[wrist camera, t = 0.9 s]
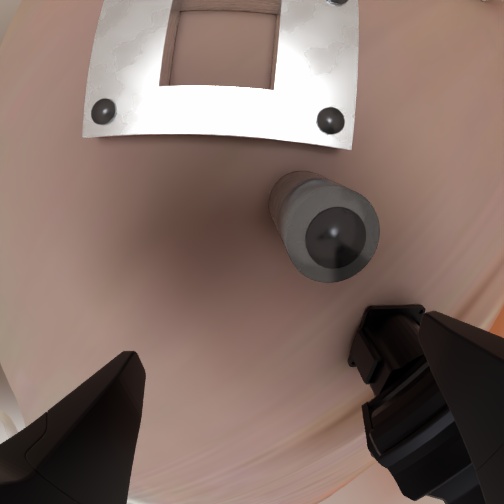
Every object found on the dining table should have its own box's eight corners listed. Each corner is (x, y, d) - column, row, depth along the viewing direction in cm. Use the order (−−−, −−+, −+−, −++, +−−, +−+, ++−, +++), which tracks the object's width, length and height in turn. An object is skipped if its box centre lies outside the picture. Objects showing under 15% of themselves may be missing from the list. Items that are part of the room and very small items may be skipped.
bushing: (337, 175, 18) (389, 195, 11) (327, 237, 20) (369, 285, 13) (272, 167, 18) (294, 182, 11) (265, 232, 19) (281, 283, 13)
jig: (345, -1, 13) (359, -16, 10) (337, 148, 17) (353, 150, 15) (123, -10, 12) (110, -25, 9) (99, 137, 16) (80, 138, 13)
